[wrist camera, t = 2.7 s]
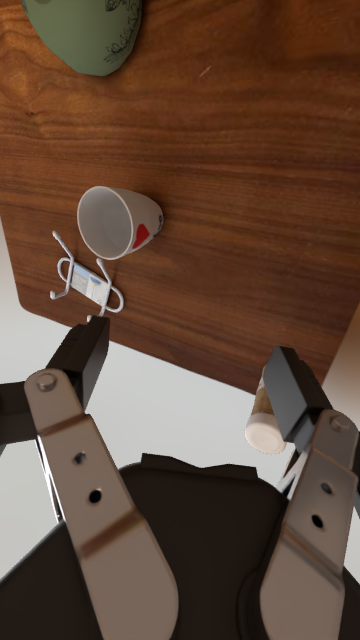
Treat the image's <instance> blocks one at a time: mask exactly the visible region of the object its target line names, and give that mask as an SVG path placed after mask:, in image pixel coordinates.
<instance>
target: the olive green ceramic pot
mask: <svg viewBox="0 0 360 640" xmlns="http://www.w3.org/2000/svg"><path fill="white" fill-rule="evenodd" d="M21 3H22V6H23V9H24V11H25V13H26V15H27V16H28V18H29V20H30V22H31V23H32V25H33V27H34V29H35V30H36V32H37V34H38V35H39V37H40V38H41V40H42V41H43V42H44V44H45V45H46V46H47V47H48V48H49V50H51V51H52V52H53V53H54V54H55V55H57V56H58V57H59V58H60V59H62V60H63V61H64V62H65V63H66V64H68V65H69V66H70V67H71V68H73V69H74V70H75V71H76V72H78V73H83V74H89V75H97V76H106V75H107V74H109V73H111V72H113V71H115V70H117V69H119V68H120V66H121V65H122V63H123V62H124V61H125V59H126V58H127V56H128V55H129V54H130V52H131V51H132V49H133V46H134V42H135V39H136V36H137V33H138V30H139V27H140V24H141V12H142V0H21Z"/></svg>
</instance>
